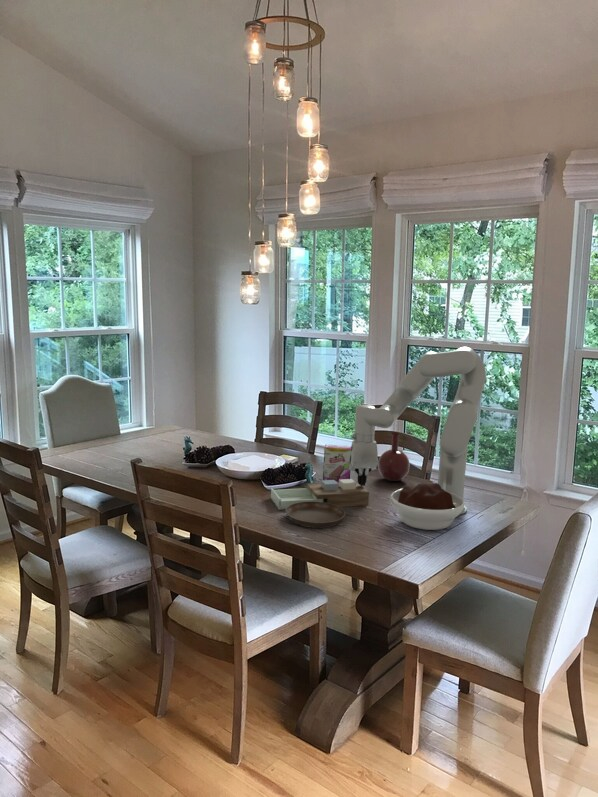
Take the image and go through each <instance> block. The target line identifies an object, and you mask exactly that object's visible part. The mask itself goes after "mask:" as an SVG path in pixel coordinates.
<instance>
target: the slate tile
mask: <svg viewBox="0 0 598 797" xmlns="http://www.w3.org/2000/svg"><path fill="white" fill-rule="evenodd" d="M321 483H322V484H321V487H322V488H323V489H324V490H325V491H327V490H338V483H337V482H336V481H335V480H323V479H322V480H321Z"/></svg>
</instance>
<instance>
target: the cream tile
mask: <svg viewBox="0 0 598 797" xmlns="http://www.w3.org/2000/svg"><path fill="white" fill-rule="evenodd" d="M356 482H357V481H356ZM356 482H355V480H354V479H352V478H350V479H341V480H339V486H340V487H341V488H342V489H343V490H346V489H356Z"/></svg>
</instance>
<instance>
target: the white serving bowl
mask: <svg viewBox="0 0 598 797" xmlns="http://www.w3.org/2000/svg"><path fill="white" fill-rule="evenodd" d="M389 501H390V503H391V505H392V508H393V509H394V510H395V511H396V513H397V514H398V517H399V520H400V522H402V523H404V524H405V525H407V526H409V527H412V528H415V529H420V530H426V531H437V530H443V529H446V528H449V527H451V525H452V524H453V523H454V521H455V519H456V518H457V517H458V516H460V515H461V514H460V513H461V512H462V510H463V509H464V505H465V501H464V498H463V499H462V498H461V497H459V496H458V495H456V494H453V493H451V492H447V491H445V490H443V489H442V488H441V486H440V485H439V484H438V482H435V483H434V482H432V483H426V482H420V483H418V484H417V485H414V484H410V483H409V484H406V485H403V487H402V488H400V489H397V490H395V491H393V492H392V493H391V495H390V498H389Z"/></svg>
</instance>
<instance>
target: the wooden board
mask: <svg viewBox="0 0 598 797" xmlns="http://www.w3.org/2000/svg"><path fill="white" fill-rule="evenodd" d="M354 481H355V480H354ZM355 482H356V489H346V490H343V489H342V488H341V487H340V486H339V482H337V483H338V490H327V491H325V490H324V489H323V488H322V487H321V484H322V482H316V483H315V482H313V483H306V488H307V489H308V490H309V491H310V492H311V493H312V494H313V495H314V496H315V497H316V498H317V499H324V501H323V502H324V503H329V504H333V505H336V506H338V507H340V508H342V507H344V508H345V507H358V506H369V499H370V492H369V491H368V490H367V489H366V488H365V487H364V486H361V485H359V483H358V481H355Z"/></svg>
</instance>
